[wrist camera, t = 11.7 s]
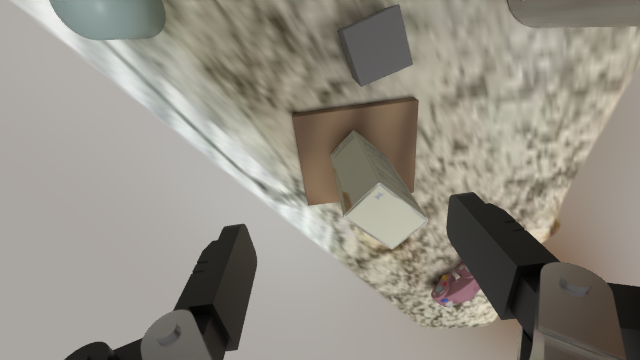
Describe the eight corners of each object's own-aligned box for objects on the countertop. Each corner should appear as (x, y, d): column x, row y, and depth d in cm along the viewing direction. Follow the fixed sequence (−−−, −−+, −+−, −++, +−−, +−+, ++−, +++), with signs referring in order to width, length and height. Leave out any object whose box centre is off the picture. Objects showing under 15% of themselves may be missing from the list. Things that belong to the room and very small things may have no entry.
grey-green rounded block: (152, -28, 25) (100, -47, 18) (173, 34, 27) (133, 35, 21) (99, -20, 25) (30, -36, 19) (125, 41, 27) (71, 44, 21)
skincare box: (328, 154, 32) (338, 216, 22) (353, 127, 31) (376, 179, 20) (366, 184, 34) (392, 252, 24) (391, 160, 33) (430, 222, 22)
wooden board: (413, 97, 31) (418, 100, 29) (409, 186, 37) (413, 192, 35) (293, 113, 31) (292, 117, 30) (308, 199, 37) (308, 205, 36)
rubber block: (384, 8, 27) (399, 4, 22) (397, 59, 29) (412, 64, 25) (337, 30, 27) (342, 30, 23) (353, 78, 30) (361, 86, 25)
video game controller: (471, 245, 44) (482, 265, 38) (492, 265, 44) (506, 289, 37) (424, 277, 48) (427, 301, 41) (443, 297, 47) (448, 324, 41)
